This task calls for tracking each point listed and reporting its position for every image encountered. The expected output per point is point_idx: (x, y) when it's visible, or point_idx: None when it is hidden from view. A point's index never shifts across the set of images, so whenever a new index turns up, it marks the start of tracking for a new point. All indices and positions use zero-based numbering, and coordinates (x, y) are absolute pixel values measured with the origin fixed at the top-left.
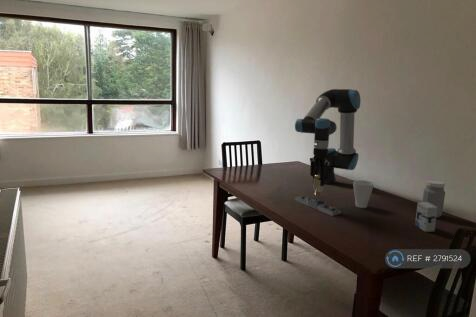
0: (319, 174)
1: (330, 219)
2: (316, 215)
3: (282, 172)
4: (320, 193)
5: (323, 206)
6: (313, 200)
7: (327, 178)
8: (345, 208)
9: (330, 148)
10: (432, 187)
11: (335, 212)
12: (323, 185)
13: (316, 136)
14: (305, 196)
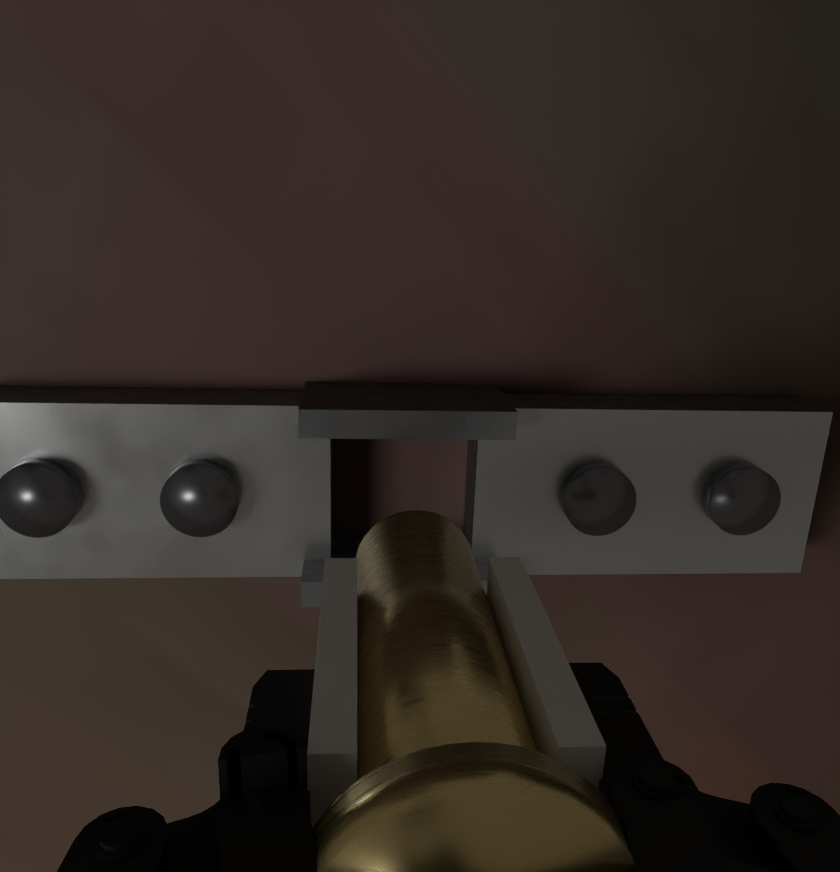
0: (401, 863)
1: (823, 647)
2: (637, 697)
3: None
4: (468, 548)
5: (581, 528)
6: (262, 442)
7: (835, 817)
8: (702, 114)
9: None
10: None
11: (804, 514)
12: (607, 677)
13: None
14: (5, 407)
